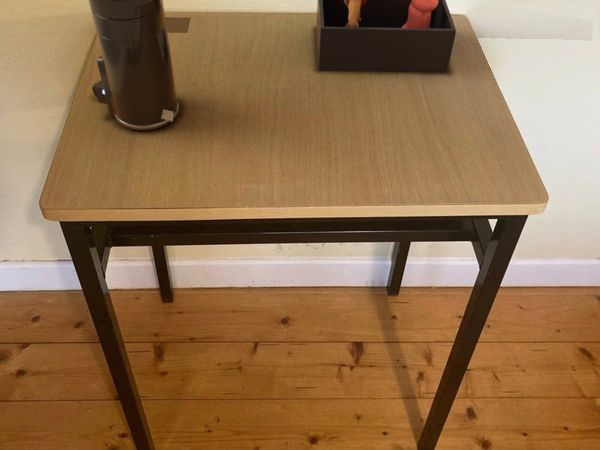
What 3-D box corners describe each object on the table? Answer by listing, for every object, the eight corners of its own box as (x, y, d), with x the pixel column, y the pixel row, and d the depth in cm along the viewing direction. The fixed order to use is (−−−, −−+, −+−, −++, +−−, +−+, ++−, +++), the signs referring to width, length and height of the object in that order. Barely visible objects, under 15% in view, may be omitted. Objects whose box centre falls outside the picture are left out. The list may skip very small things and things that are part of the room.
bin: (318, 70, 102) (320, 28, 96) (316, 29, 111) (318, -12, 105) (447, 72, 102) (456, 30, 97) (434, 31, 111) (442, -9, 106)
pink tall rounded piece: (427, 57, 104) (445, -31, 93) (397, 53, 105) (411, -35, 94) (429, 42, 108) (446, -45, 97) (400, 38, 108) (413, -49, 97)
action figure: (364, 61, 103) (377, -28, 92) (343, 61, 103) (353, -28, 92) (357, 32, 109) (368, -54, 99) (337, 32, 109) (346, -55, 98)
